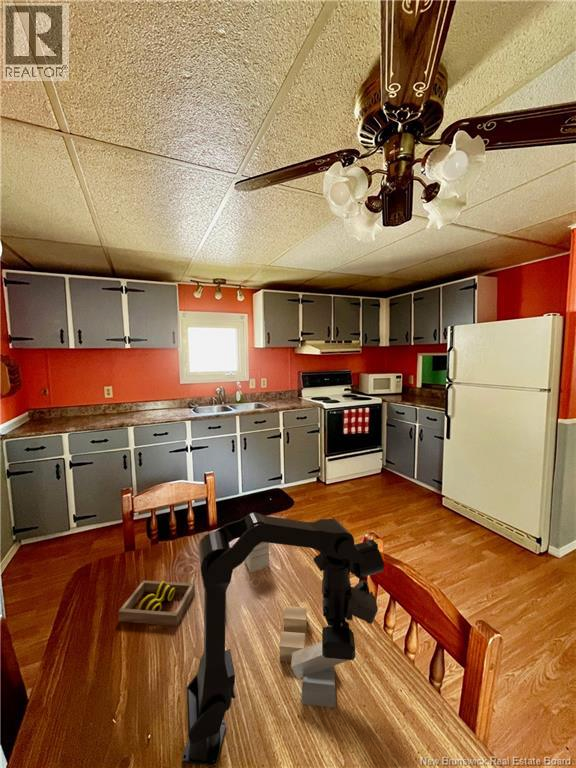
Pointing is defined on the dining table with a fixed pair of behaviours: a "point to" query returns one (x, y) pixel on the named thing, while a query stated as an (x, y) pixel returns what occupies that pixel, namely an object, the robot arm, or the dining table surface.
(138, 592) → the valet tray
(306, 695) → the v cradle
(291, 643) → the wooden blocks
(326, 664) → the bar
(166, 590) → the yellow looped piece
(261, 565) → the supplement box
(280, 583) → the dining table surface
